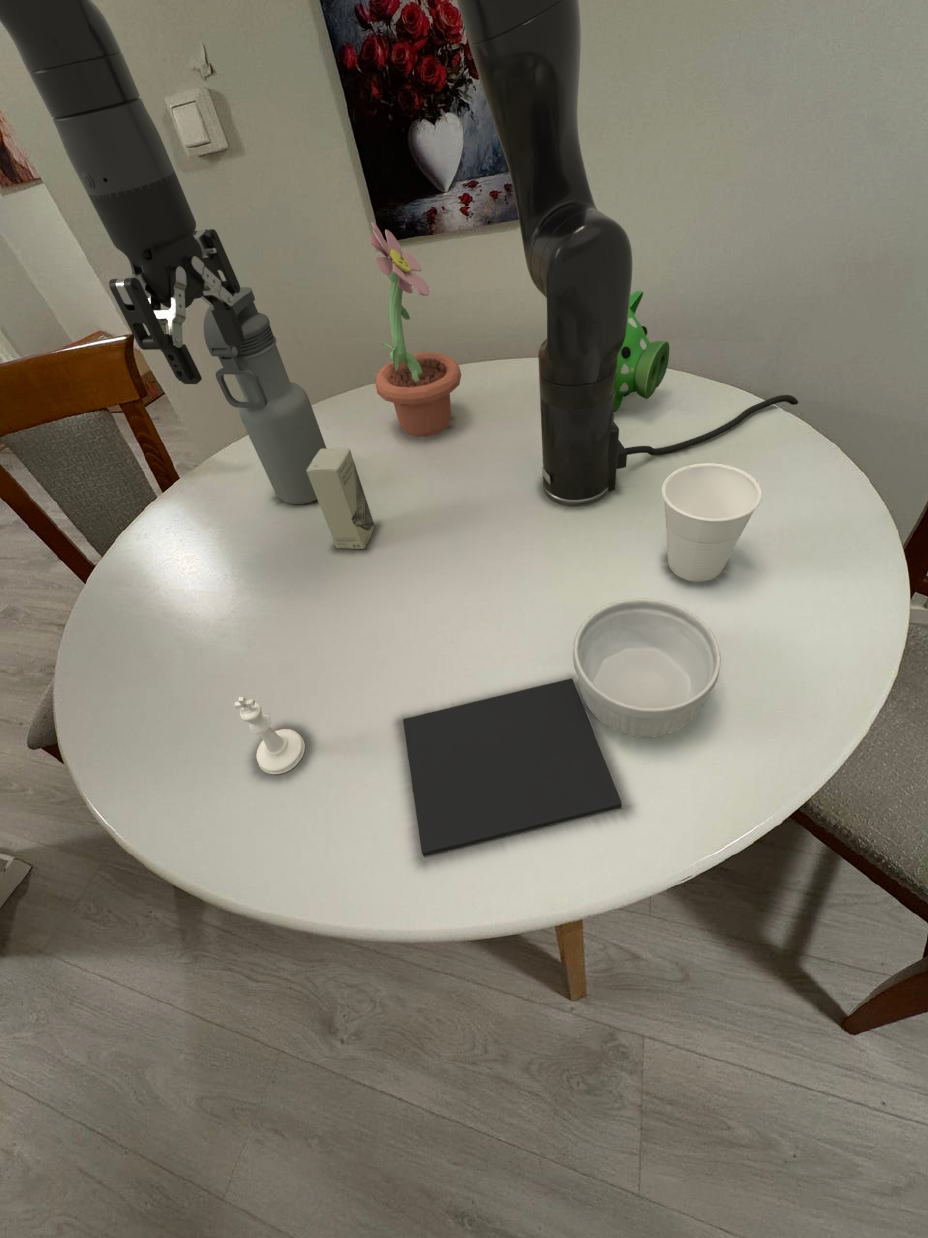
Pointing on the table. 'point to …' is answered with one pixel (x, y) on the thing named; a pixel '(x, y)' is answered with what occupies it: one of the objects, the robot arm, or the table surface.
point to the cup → (706, 516)
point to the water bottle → (268, 401)
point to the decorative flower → (417, 377)
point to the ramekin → (645, 665)
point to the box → (341, 497)
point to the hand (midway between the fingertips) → (215, 362)
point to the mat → (505, 767)
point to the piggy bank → (639, 359)
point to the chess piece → (271, 740)
